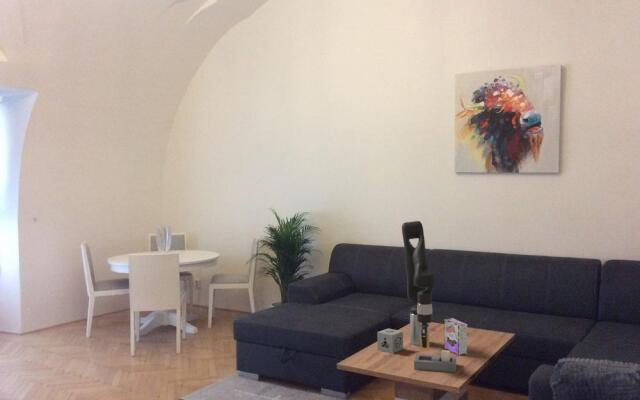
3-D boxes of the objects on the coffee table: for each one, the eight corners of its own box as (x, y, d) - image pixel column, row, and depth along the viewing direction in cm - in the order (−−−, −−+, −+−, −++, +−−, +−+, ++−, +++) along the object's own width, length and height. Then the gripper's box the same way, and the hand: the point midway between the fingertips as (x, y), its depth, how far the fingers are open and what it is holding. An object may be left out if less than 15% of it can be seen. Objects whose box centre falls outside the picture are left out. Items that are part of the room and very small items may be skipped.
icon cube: (388, 345, 326) (387, 328, 326) (403, 349, 319) (402, 331, 319) (377, 350, 319) (377, 332, 318) (392, 353, 312) (392, 335, 312)
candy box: (443, 348, 320) (443, 318, 319) (453, 347, 322) (452, 317, 321) (458, 355, 307) (458, 324, 306) (467, 354, 309) (467, 323, 308)
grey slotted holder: (416, 361, 298) (416, 346, 298) (456, 364, 293) (456, 348, 293) (414, 369, 287) (414, 353, 286) (455, 372, 281) (455, 355, 281)
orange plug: (421, 348, 293) (421, 334, 293) (429, 348, 292) (429, 334, 292) (420, 350, 289) (420, 336, 289) (428, 350, 288) (428, 336, 288)
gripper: (418, 308, 298) (418, 341, 298) (415, 315, 284) (415, 349, 285) (433, 309, 296) (433, 342, 296) (431, 315, 282) (431, 350, 283)
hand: (424, 346), depth 290 cm, fingers closed on orange plug, 4 cm apart
